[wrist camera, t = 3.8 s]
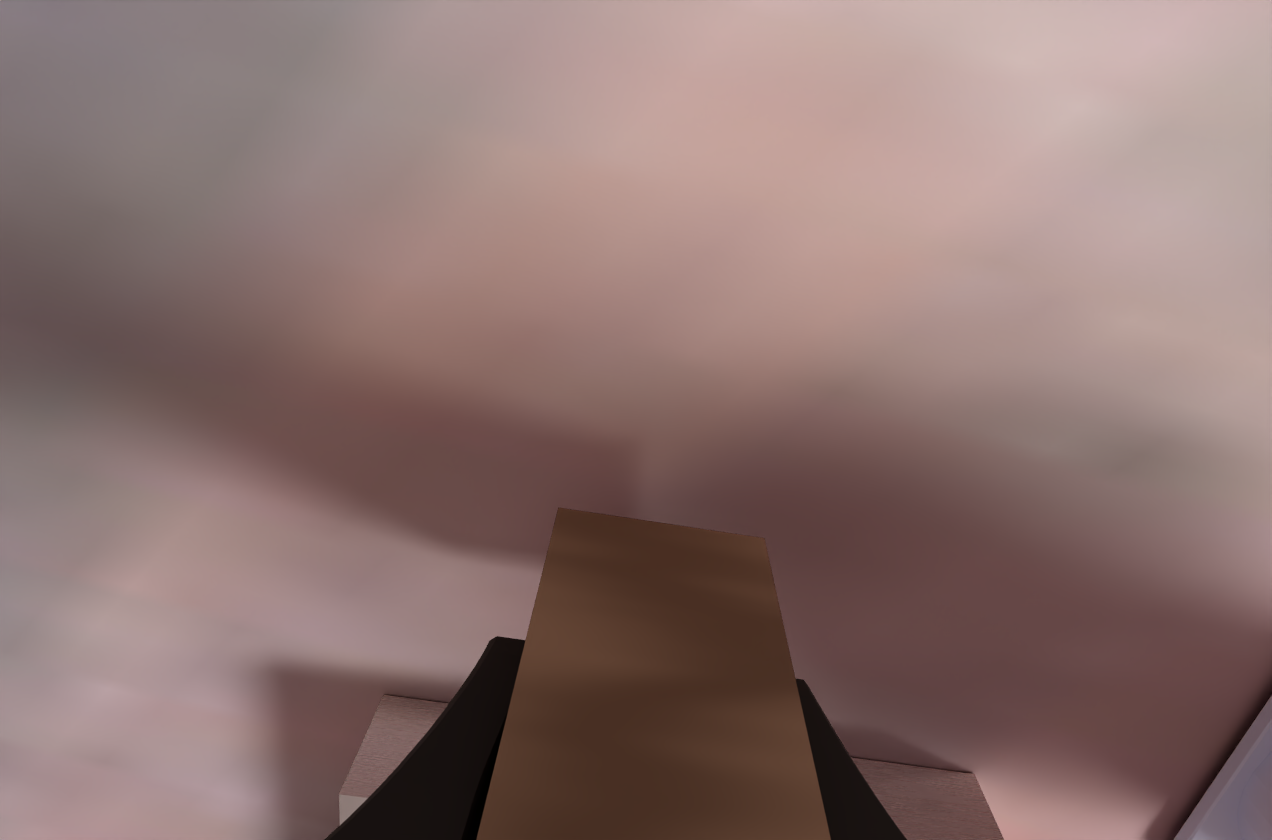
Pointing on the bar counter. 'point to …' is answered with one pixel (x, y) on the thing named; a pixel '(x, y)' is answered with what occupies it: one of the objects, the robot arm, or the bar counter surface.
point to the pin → (654, 695)
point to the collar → (912, 796)
